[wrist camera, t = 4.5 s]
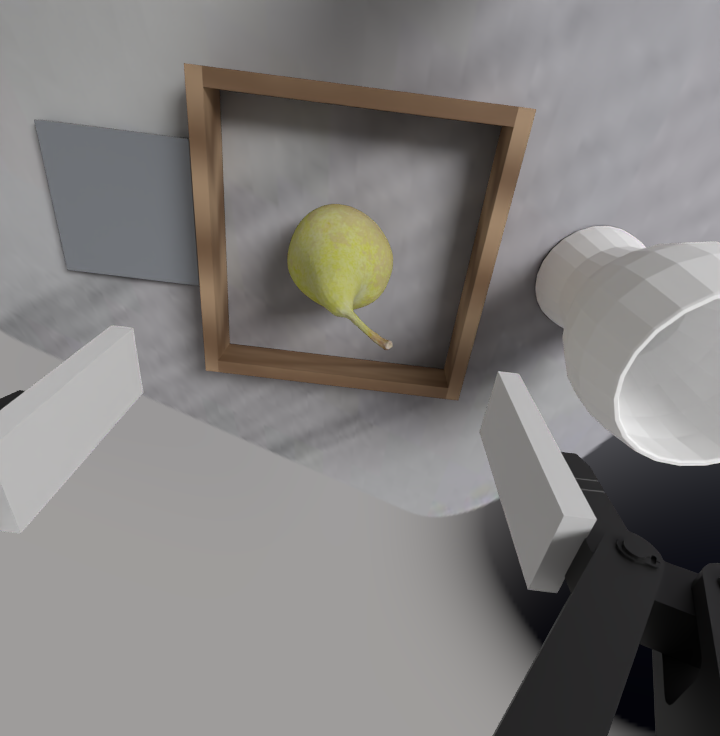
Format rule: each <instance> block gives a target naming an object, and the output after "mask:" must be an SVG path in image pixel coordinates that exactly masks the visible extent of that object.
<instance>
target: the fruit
mask: <svg viewBox="0 0 720 736" xmlns="http://www.w3.org/2000/svg"><path fill="white" fill-rule="evenodd" d="M287 264H288V269H289V273H290V275H291V278H292V280H293V281H294V283H295V284H296V285H297V287H298V288H299V289H300V290H301V291H302V292H303V293H304V294H305V295H306V296H308V297H309V298H310V299H311V300H313V301H314V302H316V303H318V304H320V305H321V306H323V307H325V308H326V309H327V310H328V311H330V312H331V313H332V314H333V315H335V316H338V317H345V318H348V319H349V320H351V321H352V322H353V323H354V324H355V325H356V326H358V328H359V329H360V330H362V331H363V332H364V333H365V334H366V335H367V336H368V337H369V338H370V339H372V340H373V342H375V343H376V344H378V345H379V346H380V347H382V348H383V349H385V350H389V349H390V348H391V347H393V345H392V342H391V341H389V340H385V339H383V338H381V337H380V336H379V335H378V334H377V333H375V332H373V331H372V330H371V329H369V328H368V327H367V326H366V325H365V324H364V323H363V322H362V321H361V320H360V319H359V318H358V316H357V315H356V314H355V313H354V312H353V310H354V309H358V308H361V307H364V306H367V305H369V304H370V303H372V302H374V301H375V300H376V299H378V298H379V296H380V295H381V294H382V293H383V291H384V289H385V288H386V285H387V283H388V281H389V278H390V275H391V272H392V267H393V255H392V251H391V248H390V245H389V243H388V241H387V239H386V237H385V235H384V233H383V232H382V230H381V229H380V228H379V226H378V225H377V224H376V223H375V222H374V221H373V220H372V219H371V218H369V217H368V216H367V215H366V214H364V213H362V212H361V211H359V210H357V209H355V208H352V207H350V206H346V205H340V204H330V205H325V206H321V207H319V208H317V209H315V210H313V211H311V212H310V213H309V214H308V215H306V216H305V217H304V218H303V219H302V221H301V222H300V223H299V225H298V226H297V228H296V230H295V232H294V234H293V236H292V239H291V242H290V245H289V250H288V256H287Z"/></svg>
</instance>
